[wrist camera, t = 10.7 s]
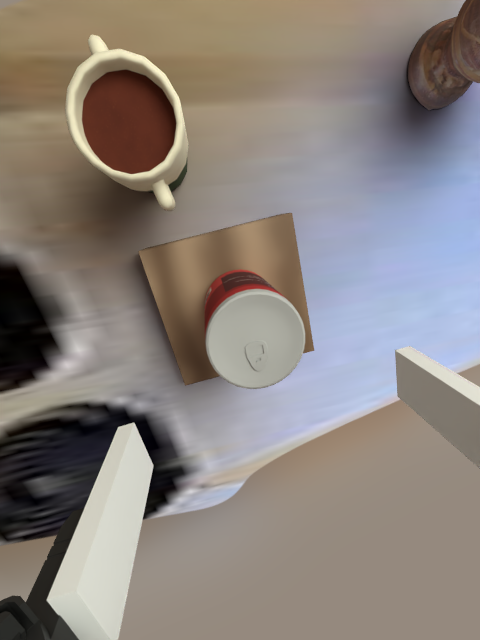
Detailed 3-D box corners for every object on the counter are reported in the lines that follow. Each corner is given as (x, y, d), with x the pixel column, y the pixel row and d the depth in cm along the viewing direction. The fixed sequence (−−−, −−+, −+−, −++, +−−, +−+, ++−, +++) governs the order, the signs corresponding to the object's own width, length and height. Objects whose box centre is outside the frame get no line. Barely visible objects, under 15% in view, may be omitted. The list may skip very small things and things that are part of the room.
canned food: (224, 348, 33) (234, 405, 23) (190, 288, 30) (184, 321, 20) (284, 319, 33) (321, 362, 22) (255, 255, 30) (282, 271, 20)
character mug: (98, 117, 28) (17, 34, 16) (165, 89, 28) (136, -16, 16) (150, 226, 32) (116, 227, 19) (209, 202, 32) (213, 187, 19)
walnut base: (187, 369, 38) (185, 385, 34) (145, 248, 32) (138, 251, 29) (303, 337, 38) (314, 350, 35) (281, 214, 33) (291, 212, 29)
